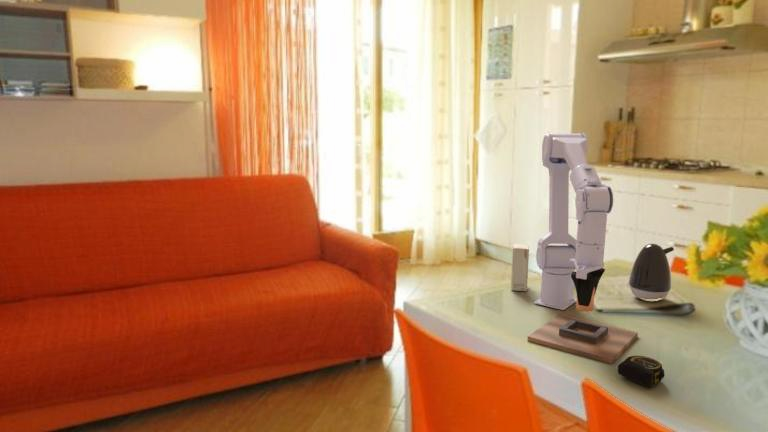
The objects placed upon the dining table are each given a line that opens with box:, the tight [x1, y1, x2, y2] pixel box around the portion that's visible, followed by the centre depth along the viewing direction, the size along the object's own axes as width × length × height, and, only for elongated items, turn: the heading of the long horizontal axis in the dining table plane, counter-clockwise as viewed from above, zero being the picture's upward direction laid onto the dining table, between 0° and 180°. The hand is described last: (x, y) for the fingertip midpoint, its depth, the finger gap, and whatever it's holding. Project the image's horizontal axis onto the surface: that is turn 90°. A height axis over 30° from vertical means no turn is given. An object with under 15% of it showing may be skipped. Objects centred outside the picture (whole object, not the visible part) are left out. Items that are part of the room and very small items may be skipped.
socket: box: [526, 313, 639, 365], centre depth 125 cm, size 18×18×2 cm
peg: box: [575, 287, 596, 313], centre depth 123 cm, size 4×4×5 cm
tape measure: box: [617, 355, 665, 389], centre depth 106 cm, size 7×7×4 cm
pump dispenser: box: [628, 243, 675, 299], centre depth 150 cm, size 10×10×15 cm
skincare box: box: [510, 243, 530, 292], centre depth 159 cm, size 6×4×12 cm
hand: (585, 302), depth 124 cm, fingers closed on peg, 4 cm apart
